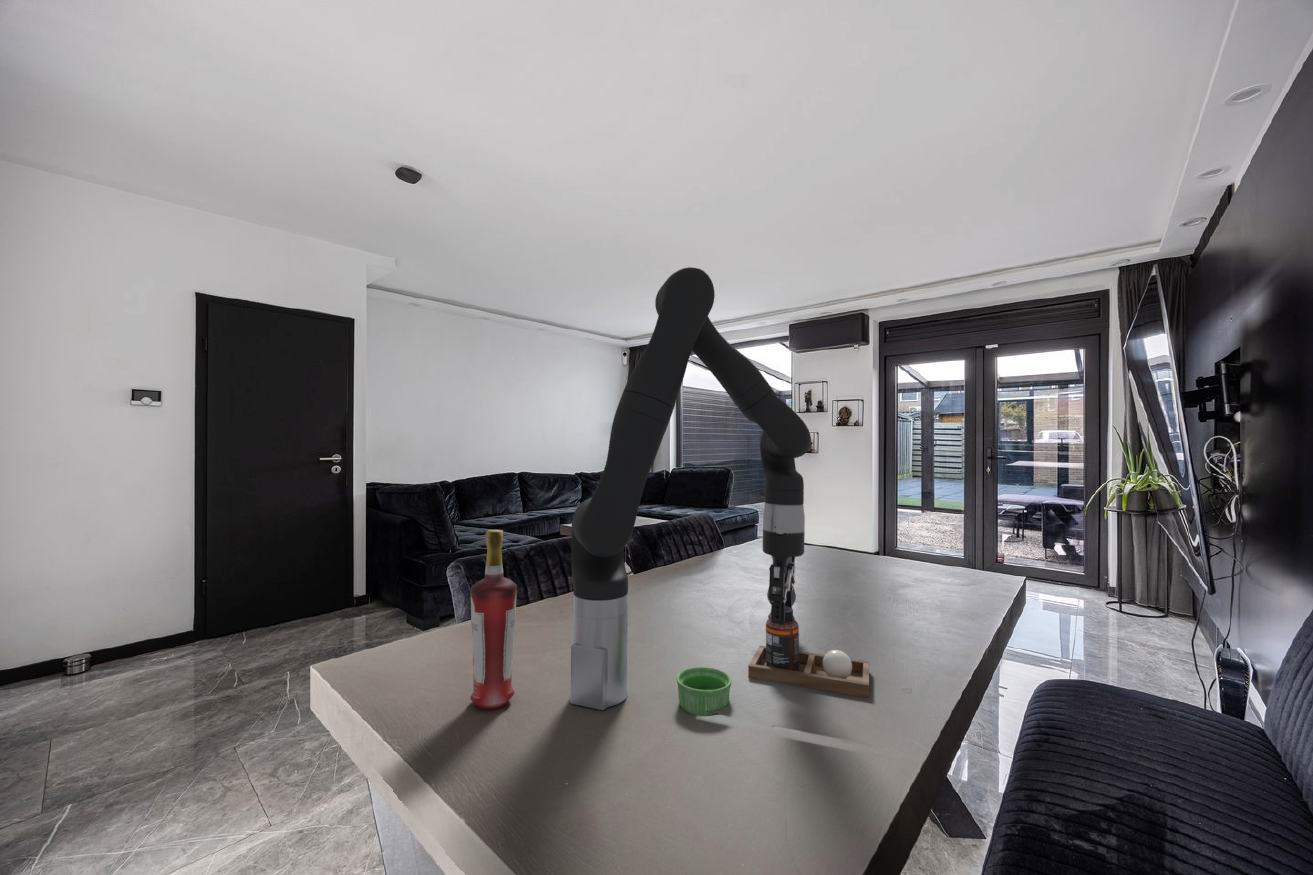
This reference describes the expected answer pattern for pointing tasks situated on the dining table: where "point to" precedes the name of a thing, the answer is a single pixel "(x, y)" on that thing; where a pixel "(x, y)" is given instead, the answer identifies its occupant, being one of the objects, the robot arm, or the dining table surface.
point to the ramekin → (703, 690)
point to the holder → (812, 674)
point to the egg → (837, 664)
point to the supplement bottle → (783, 643)
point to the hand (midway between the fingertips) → (782, 616)
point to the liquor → (493, 629)
